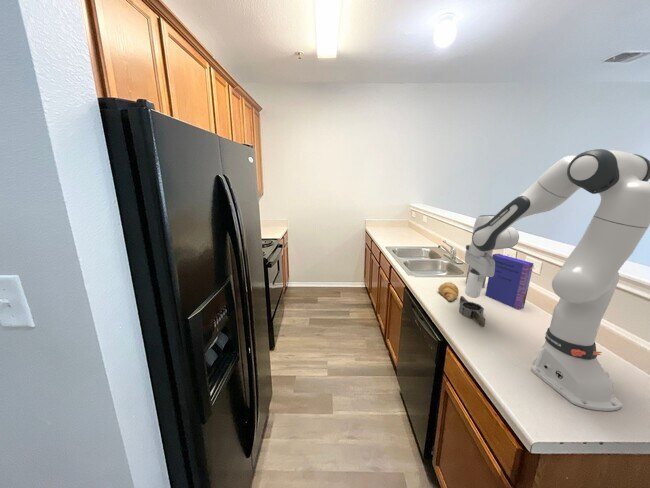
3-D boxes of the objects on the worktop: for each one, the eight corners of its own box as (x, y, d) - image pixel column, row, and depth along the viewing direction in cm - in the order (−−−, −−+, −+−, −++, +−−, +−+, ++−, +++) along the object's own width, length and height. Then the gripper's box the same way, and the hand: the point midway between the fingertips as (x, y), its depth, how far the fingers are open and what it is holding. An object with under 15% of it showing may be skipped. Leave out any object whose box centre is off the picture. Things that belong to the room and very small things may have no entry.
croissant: (455, 309, 141) (465, 298, 138) (438, 299, 142) (448, 287, 139) (449, 292, 161) (458, 282, 158) (434, 283, 162) (442, 272, 159)
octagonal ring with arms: (493, 327, 119) (495, 319, 118) (471, 326, 119) (473, 318, 118) (475, 309, 134) (477, 302, 133) (456, 308, 135) (457, 301, 134)
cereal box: (523, 308, 137) (533, 262, 131) (517, 309, 135) (527, 264, 129) (491, 294, 152) (498, 253, 146) (485, 295, 150) (492, 254, 144)
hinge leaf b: (485, 319, 125) (487, 311, 124) (464, 318, 126) (466, 310, 125) (469, 303, 140) (471, 296, 139) (451, 302, 141) (452, 295, 140)
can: (465, 296, 127) (470, 274, 123) (463, 289, 133) (468, 268, 129) (480, 299, 125) (486, 276, 121) (478, 292, 131) (483, 270, 126)
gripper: (501, 257, 112) (495, 288, 115) (477, 244, 131) (473, 271, 135) (486, 256, 112) (480, 287, 116) (464, 244, 132) (460, 271, 135)
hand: (476, 279), depth 125 cm, fingers closed on can, 6 cm apart
